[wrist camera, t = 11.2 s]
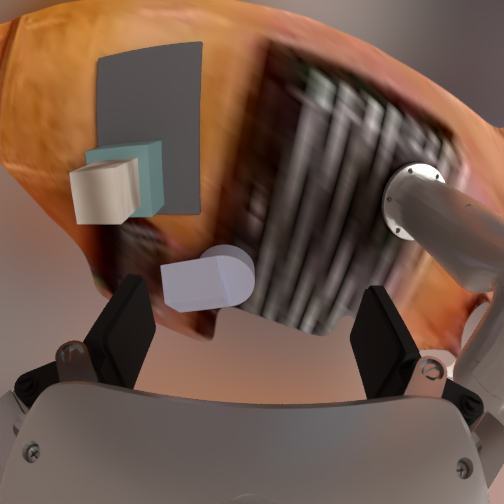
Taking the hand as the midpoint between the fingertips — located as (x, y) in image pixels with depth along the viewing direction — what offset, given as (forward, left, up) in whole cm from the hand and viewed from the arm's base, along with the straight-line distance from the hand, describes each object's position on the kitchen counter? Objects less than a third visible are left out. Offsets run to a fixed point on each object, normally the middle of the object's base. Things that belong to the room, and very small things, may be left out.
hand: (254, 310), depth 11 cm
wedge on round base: (+6, +16, -28) cm, 33 cm away
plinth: (+17, 0, -27) cm, 32 cm away
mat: (+15, -6, -28) cm, 32 cm away
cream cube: (+17, 0, -22) cm, 27 cm away
